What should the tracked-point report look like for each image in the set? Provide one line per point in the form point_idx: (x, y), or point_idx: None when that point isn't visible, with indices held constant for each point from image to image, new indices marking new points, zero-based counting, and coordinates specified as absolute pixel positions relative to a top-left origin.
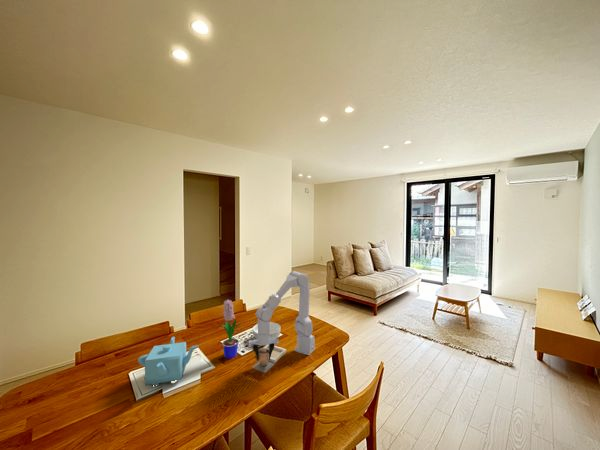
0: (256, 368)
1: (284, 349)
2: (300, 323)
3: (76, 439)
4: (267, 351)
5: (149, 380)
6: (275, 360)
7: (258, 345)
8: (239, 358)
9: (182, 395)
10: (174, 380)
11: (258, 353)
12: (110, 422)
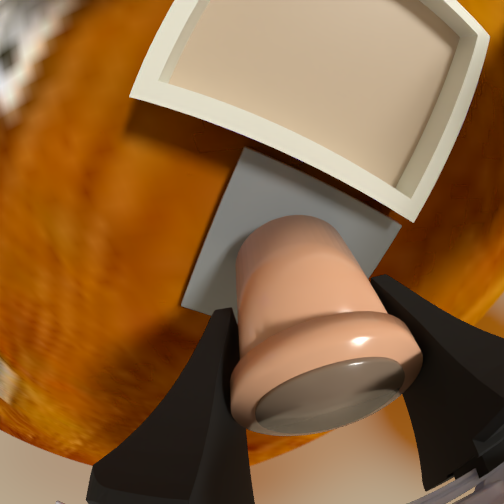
0: None
1: (480, 33)
2: None
3: (10, 433)
4: (391, 396)
5: None
6: (413, 207)
7: (206, 463)
8: (12, 168)
9: (31, 409)
10: None
11: (229, 373)
12: (8, 425)
